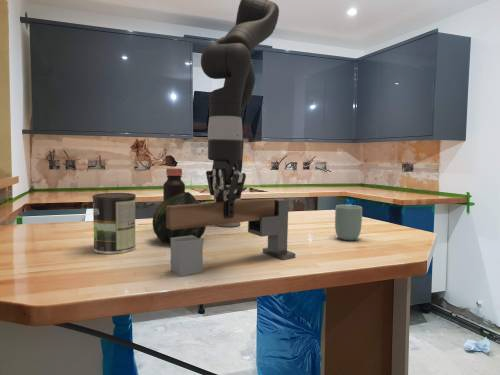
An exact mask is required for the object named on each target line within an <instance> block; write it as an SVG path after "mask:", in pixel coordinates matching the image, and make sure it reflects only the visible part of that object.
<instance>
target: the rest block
mask: <svg viewBox="0 0 500 375" xmlns="http://www.w3.org/2000/svg"><path fill="white" fill-rule="evenodd" d="M203 242H204V241H203V239H201V237H200V238H197V237H195V236H193V235H190V236H182V237H174V238H171V241H170V271H171V270H172V271H171V272H172V273H174V272H175V274H176V275H177V274H178V275H177V276H178V277H180V276H182V277H186V276H185V275H187V276H192V275H197V273H198V274H202V273H203V272H204V271H203V270H204V268H203V267H204V266H203V263H204V262H203V254H204V253H203V252H204V251H203V249H204V248H203V245H204V244H203ZM191 274H192V275H191Z"/></svg>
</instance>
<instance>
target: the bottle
mask: <svg viewBox="0 0 500 375" xmlns="http://www.w3.org/2000/svg"><path fill="white" fill-rule="evenodd" d="M165 169H166V173H165V174H166V178H167V180H166V181H165V182H164V183H163V186H162V187H163V196H162V197H163V201H165V200H166V199H168V198H170V197H173V196H175V195H177V194H180V193H183V192H186V184H185V183H184V181H183V180H182V176H183V169H182V168H179V167H173V168H172V167H171V168H168V167H167V168H165ZM163 201H162V202H163Z"/></svg>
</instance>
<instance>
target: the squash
mask: <svg viewBox="0 0 500 375" xmlns="http://www.w3.org/2000/svg"><path fill="white" fill-rule="evenodd" d="M199 203H200V202H199V201H198V200H197V198H196V197H195V196H194V195H193V194H192V193H191V192H189V191H185V192H183V193H180V194H177V195H175V196H173V197H170V198H168V199H166V200H165V201H162V202H161V203H160V204H159V205H158V206H157V207H156V209H155V211H154V212H153V215H152V216H153V217H152V228H153V232H154V234H155V235H156V237H157V238H158V239H159V240H160V241H161V242H165V243H166V242H167V243H168V242H171V238H174V237H182V236H190V235H193V236H195V237H197V238H200V239H201V237H202V236H203V235H204V233H205V232H206V227H207V226H203V227H195V228H186V229H177V230H171V229H168V228H166V206H172V205H185V204H199Z"/></svg>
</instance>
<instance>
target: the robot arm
mask: <svg viewBox="0 0 500 375" xmlns="http://www.w3.org/2000/svg"><path fill="white" fill-rule="evenodd" d="M279 16H280V8H279V6H278V4H277V3H275V2H273V1H271V0H240V1H239V4H238V8H237V13H236V18H235V19H236V20H235V24H234V26H233V27H232V28H231V29H230V30H229V31H228V32H227V34H226V35H225V36H222V37H220V38H218V39H216V40H214V41H212V42H210V43H209V44H207V45H206V46H205V47H204V50H203V51H202V53H201V57H200V65H201V66H200V67H201V69H202V72H203V73H204V74H205V76H206V77H208V78H209V79H213V80H220V79H222V80H223V79H224V81H223V87H220V88H216V89H214V90H211V92H210V94H209V100H208V101H209V102H208V103H209V104H208V106H209V108H208V109H209V110H208V112H209V113H208V116H209V118H208V126H207V159H208V160H209V161H213V162H212V163H213V164H212V166H211V167H212V168H211V170H206V171H205V174H206V180H207V186H208V190H209V194H210V196H213V202H224V218H233V217H234V201H239V200H242V193H243V189H244V186H245V183H246V177H247V174H246V173H245V172H242V171H243V160H244V159H243V157H244V145H245V142H244V140H245V139H244V134H243V121H242V111H243V109H244V108H246V106H247V105H248V104H249V102H250V100H251V98H252V95H253V91H254V87H255V83H256V74H255V71H254V70H255V69H254V67H253V64H252V60H251V59H252V58H251V54H252V53H253V51H254V50H255V49H256V47H257V46H258V45H260V44H261V43H263V42H264V41H265V40H267V39H268V38H269V37H270V36H271V35H272V34H273V33H274V31H275V29H276V27H277V23H278V20H279ZM241 223H242V222H238V223H229V224H221V225H216V227H223V228H224V227H226V228H227V227H228V228H229V227H230V228H231V227H237V226H240V225H241Z"/></svg>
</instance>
